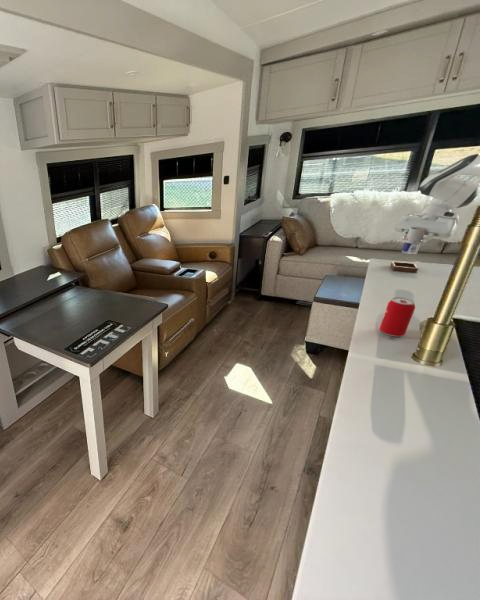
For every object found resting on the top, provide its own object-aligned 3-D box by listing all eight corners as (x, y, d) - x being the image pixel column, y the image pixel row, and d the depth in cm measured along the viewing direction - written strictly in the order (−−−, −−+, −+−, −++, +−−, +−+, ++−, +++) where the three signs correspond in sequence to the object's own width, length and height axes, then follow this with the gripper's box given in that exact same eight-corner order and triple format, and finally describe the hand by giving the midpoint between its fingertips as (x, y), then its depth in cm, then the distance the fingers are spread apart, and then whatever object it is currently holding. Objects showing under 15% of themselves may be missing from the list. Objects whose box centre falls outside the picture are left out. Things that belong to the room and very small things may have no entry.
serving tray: (413, 267, 153) (414, 263, 153) (416, 272, 147) (418, 268, 147) (390, 265, 158) (391, 261, 157) (392, 270, 152) (394, 266, 151)
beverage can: (401, 330, 106) (413, 298, 101) (406, 339, 101) (420, 306, 96) (376, 327, 109) (387, 295, 104) (380, 335, 104) (392, 303, 99)
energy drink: (402, 251, 153) (410, 226, 148) (417, 253, 149) (427, 227, 144) (400, 253, 150) (408, 228, 145) (415, 255, 146) (425, 230, 141)
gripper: (403, 209, 153) (384, 232, 154) (463, 214, 135) (441, 240, 136) (406, 217, 156) (387, 240, 157) (464, 223, 139) (443, 249, 140)
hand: (412, 240), depth 147 cm, fingers closed on energy drink, 5 cm apart
